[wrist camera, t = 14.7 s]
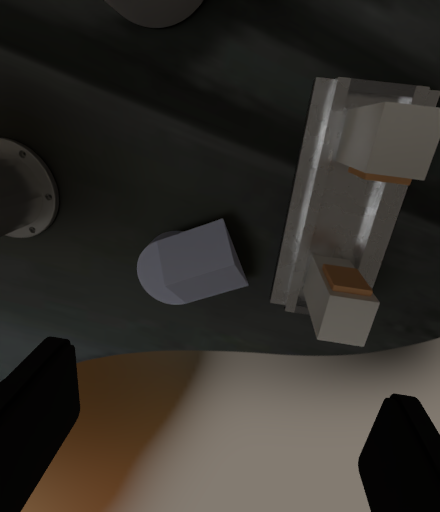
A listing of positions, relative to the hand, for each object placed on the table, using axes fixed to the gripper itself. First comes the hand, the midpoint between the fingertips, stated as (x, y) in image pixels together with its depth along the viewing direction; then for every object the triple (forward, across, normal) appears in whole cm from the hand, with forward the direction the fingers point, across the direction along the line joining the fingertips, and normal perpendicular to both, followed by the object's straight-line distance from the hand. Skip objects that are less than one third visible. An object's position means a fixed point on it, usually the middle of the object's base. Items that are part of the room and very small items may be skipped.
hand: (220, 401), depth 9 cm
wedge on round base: (+31, +6, +9) cm, 32 cm away
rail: (+30, -11, 0) cm, 32 cm away
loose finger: (+29, -11, -8) cm, 32 cm away
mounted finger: (+29, -11, +8) cm, 32 cm away
